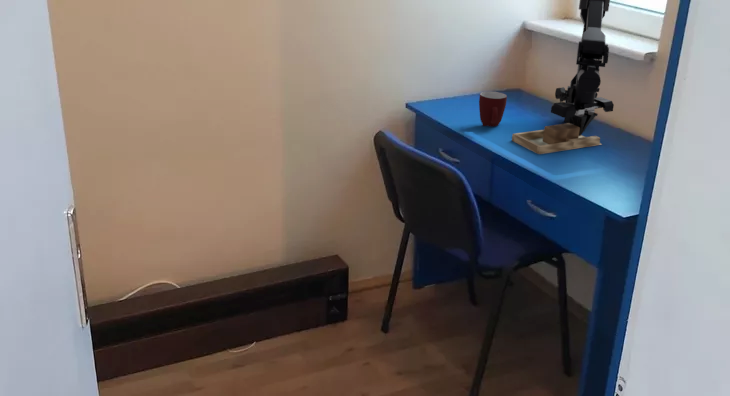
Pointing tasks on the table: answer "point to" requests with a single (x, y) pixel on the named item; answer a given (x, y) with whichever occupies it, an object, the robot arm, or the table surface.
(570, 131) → the brown cube
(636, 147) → the table surface
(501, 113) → the mug
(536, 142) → the slot board
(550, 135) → the brown wooden cube
